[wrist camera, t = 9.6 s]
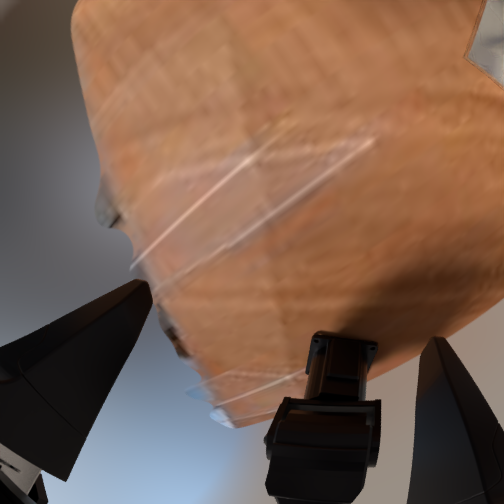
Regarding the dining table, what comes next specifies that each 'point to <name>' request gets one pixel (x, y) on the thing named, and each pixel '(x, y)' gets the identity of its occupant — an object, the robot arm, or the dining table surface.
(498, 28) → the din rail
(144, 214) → the dining table surface
